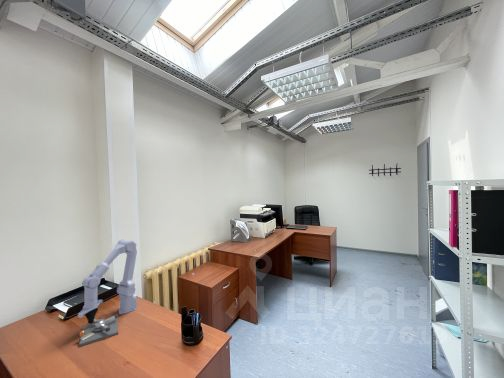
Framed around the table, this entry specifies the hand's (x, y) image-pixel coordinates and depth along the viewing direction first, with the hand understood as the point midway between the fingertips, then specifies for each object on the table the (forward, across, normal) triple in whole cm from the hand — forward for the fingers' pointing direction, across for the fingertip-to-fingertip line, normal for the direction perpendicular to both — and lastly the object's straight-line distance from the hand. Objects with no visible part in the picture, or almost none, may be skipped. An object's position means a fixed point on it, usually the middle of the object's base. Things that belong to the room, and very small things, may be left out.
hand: (90, 323), depth 116 cm
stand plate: (+3, +2, +6) cm, 7 cm away
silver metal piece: (+2, +2, +6) cm, 7 cm away
